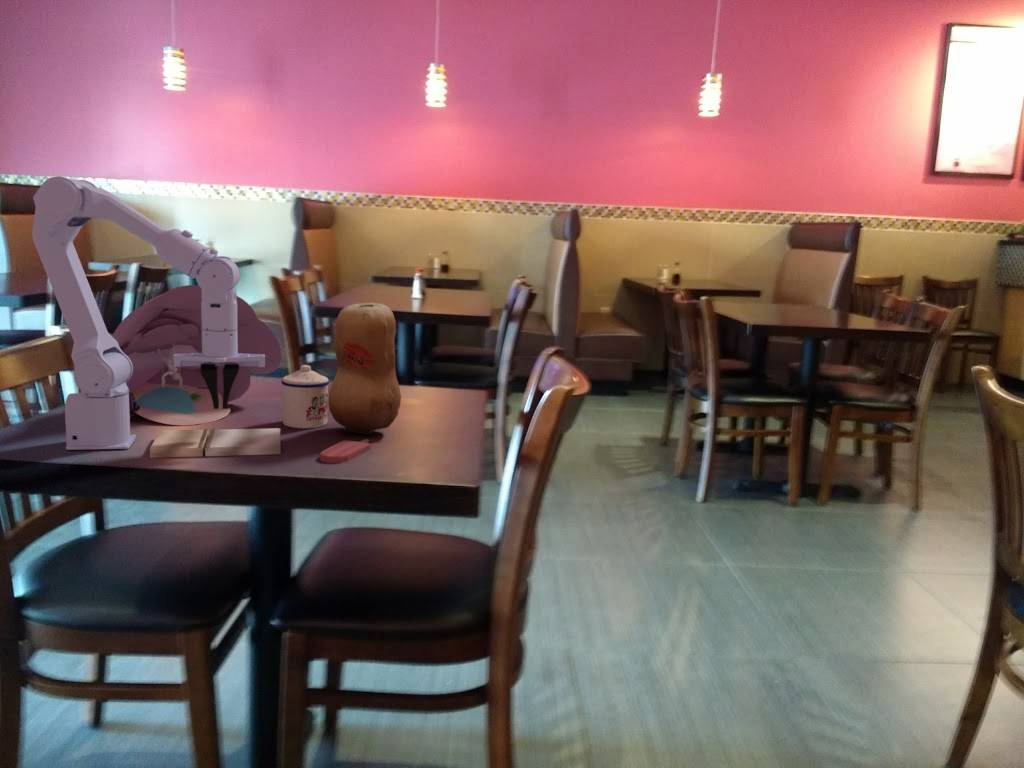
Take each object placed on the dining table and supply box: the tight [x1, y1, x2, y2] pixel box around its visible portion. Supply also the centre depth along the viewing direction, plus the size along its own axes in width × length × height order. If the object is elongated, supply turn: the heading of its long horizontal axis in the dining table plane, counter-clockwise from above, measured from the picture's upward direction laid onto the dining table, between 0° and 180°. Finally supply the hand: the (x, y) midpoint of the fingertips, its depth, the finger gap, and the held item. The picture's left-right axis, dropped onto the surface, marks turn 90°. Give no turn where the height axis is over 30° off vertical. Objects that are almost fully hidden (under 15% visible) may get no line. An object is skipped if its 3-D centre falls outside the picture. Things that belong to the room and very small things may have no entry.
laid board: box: [149, 428, 210, 459], centre depth 134 cm, size 8×12×2 cm, turn 17°
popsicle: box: [319, 438, 371, 464], centre depth 137 cm, size 5×2×15 cm
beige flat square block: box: [204, 427, 282, 457], centre depth 137 cm, size 12×12×2 cm
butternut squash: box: [328, 302, 402, 435], centre depth 149 cm, size 14×13×25 cm
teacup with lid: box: [281, 364, 330, 429], centre depth 155 cm, size 12×9×12 cm
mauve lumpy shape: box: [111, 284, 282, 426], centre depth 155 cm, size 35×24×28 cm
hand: (220, 407), depth 135 cm, fingers closed
